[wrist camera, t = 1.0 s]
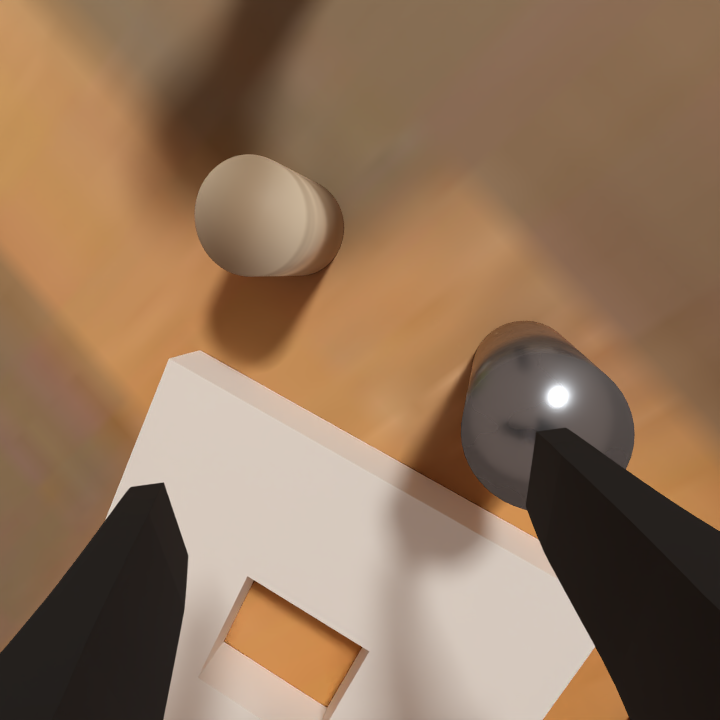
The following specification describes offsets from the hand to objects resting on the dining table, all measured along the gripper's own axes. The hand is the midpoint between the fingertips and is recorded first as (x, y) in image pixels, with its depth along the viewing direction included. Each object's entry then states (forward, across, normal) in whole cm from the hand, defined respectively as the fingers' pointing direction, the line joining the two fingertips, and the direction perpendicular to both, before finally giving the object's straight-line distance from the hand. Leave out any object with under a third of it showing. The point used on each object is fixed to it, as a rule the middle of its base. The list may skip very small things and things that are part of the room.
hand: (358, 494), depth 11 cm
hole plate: (+8, +3, +17) cm, 19 cm away
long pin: (+10, -8, +4) cm, 13 cm away
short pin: (+15, 0, -1) cm, 15 cm away
